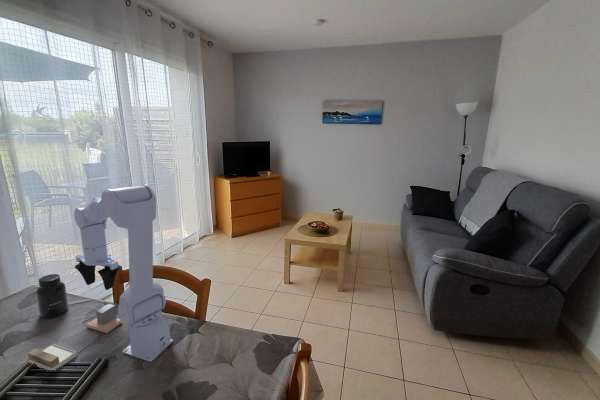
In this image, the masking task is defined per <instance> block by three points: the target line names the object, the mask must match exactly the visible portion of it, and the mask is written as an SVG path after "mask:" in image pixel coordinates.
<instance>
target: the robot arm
mask: <svg viewBox="0 0 600 400" xmlns="http://www.w3.org/2000/svg"><path fill="white" fill-rule="evenodd" d="M73 211H74V213H73V217H74V221H75V223H76V224H75V225H77V227H78V228H79V230H80V238H81V244H82V251H83V253H81V254H78V255H76V256H75V260H76V263H77V264H75V265H74V269H76V270H77V271H78V272H79V273H80V275H81V277H82V278H83V280H84V282H85V284H86V285H87V286H89V285H92V284H94V283H96V266H98V267H99V266H101V267H103V268H102V269H99V270H97V274H99V276H100V277H101V279H102V282H103V286H104V289H105V290H106V291H108V290H110V289H112V288H114V284H115V280H116V276H117V273H119V270H120V268H121V265H120V264H119V261H118V260H115V259H113V258H112V255H111V253H108V248H107V247H108V246H107V239H106V229H107V221H108V218H110V219H111V221H112V222H113V223H114V224H115V225H116V227H117V228H122V229H126V230H127V236H128V238H127V239H128V265H129V266H128V270H129V271H128V274H129V286H128V287H127V288H126V289H125V290H124V291H123V292H122V294H121V295H120V296H119V304H118V306H117V315H118V319H120V320H121V322H122V323H121V324H123V325H124V326H126V327H128V337H129V343H130V344H129V345H128V346H126V348H124V349H123V350H122V353H123V354H124V355H129V356H131V357H133V358H137V359H141V360H144V361H147V362H150V363H151V362H153V361H154V360H155V359H156V358H157V357H158V356H159V355H160V354H161V353H162V352H163V351H165V349H166V348H168V346H170V345H171V344H172V343H173V341H174V339H173V338H171V328H170V322H169V321H168V320H165V319H164V318H163V317H162V316H161V315H162V310H163V309H165V307H166V303H167V302H166V296H165V291H164V288H163V286H162V285H161V284H159V283H158V282H156V281H153V280H154V277H153V276H154V269H153V268H154V260H153V256H154V255H153V253H154V251H153V249H154V247H153V246H154V244H153V243H154V242H153V241H154V239H153V238H154V237H153V236H154V234H153V233H154V232H153V231H154V230H153V229H154V228H153V226H154V225H153V223H154V222H153V221H155V220H156V219H157V197H156V195H155V193H154V191H153V189H152V188H151V187H150V185H148V184H142V185H137V186H128V187H127V186H126V187H120V188H112V189H111V188H105V189H104V190H103V191H101V197H100V196H97V197H93V198H92V201H91V202H89V203H87V205H85V206H84V207H75V209H74V210H73Z"/></svg>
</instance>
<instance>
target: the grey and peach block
mask: <svg viewBox="0 0 600 400" xmlns="http://www.w3.org/2000/svg"><path fill="white" fill-rule="evenodd" d="M95 314H96V317H95V318H94V319H93V320H91V321H89V322H87V323H86V328H88V329H91V330H94V331H99V332H102V333H105V334H108V333H109V332H111V331H112V330H113V329H115V328H116V327H117V326H120V324H123V323H122V322H121V320H120V318H119V317H117V310H116V304H111V303H107V304H105V305H104V306H102V307H101V308H99V309H97V310H96V311H95Z"/></svg>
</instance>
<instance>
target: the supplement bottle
mask: <svg viewBox="0 0 600 400" xmlns="http://www.w3.org/2000/svg"><path fill="white" fill-rule="evenodd" d="M35 296H36V301H37V306H38V307H37V308H38V313H39V316H40V317H41V318H43V319H50V318H51V319H53V318H55V317H58V316H61V315H63V314H65V313H66V311H68V309H69V303H68V301H69V300H68V295H67V287H66V284H65V283H64V282H63V281H61V276H60V275H59V273H54V274H53V273H51V274H47V275H44V276H41V277H40V278H39V279H38V288H36V291H35Z"/></svg>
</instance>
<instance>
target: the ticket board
mask: <svg viewBox="0 0 600 400" xmlns="http://www.w3.org/2000/svg"><path fill="white" fill-rule="evenodd" d="M27 356H28V362H30V363H36V365H37V366H36V367H38V368H40V369H42V368H44V369H43V370H45V369H49V370H54V369H57V368H58V369H60V368H61V367H63V366H64V365H66V364H67V363H68V362H70V361H71V360H73V359H74V358H75V357H77V351H75V350H73V349H71V348H70V349H69V348H67V347H63V346H61V345H58V344H55V343H53V344H52V345H50V346H48V347H45V349H43V350H40V349H37V348H34V349H32V350H31V351H29V352H27ZM30 363H29V364H30ZM59 367H60V368H59ZM58 369H57V370H58Z"/></svg>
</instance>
